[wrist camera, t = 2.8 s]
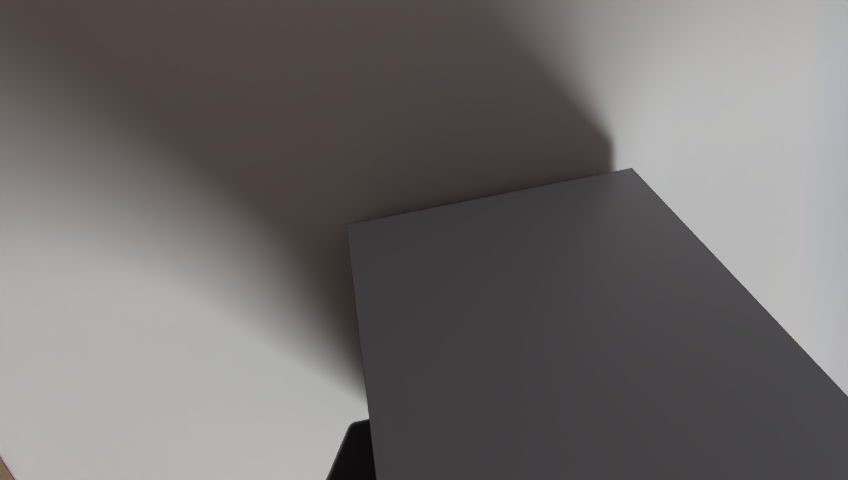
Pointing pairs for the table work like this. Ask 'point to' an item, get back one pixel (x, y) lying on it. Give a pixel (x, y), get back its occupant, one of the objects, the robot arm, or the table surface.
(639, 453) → the grey rectangular block
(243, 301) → the table surface
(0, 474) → the walled box
